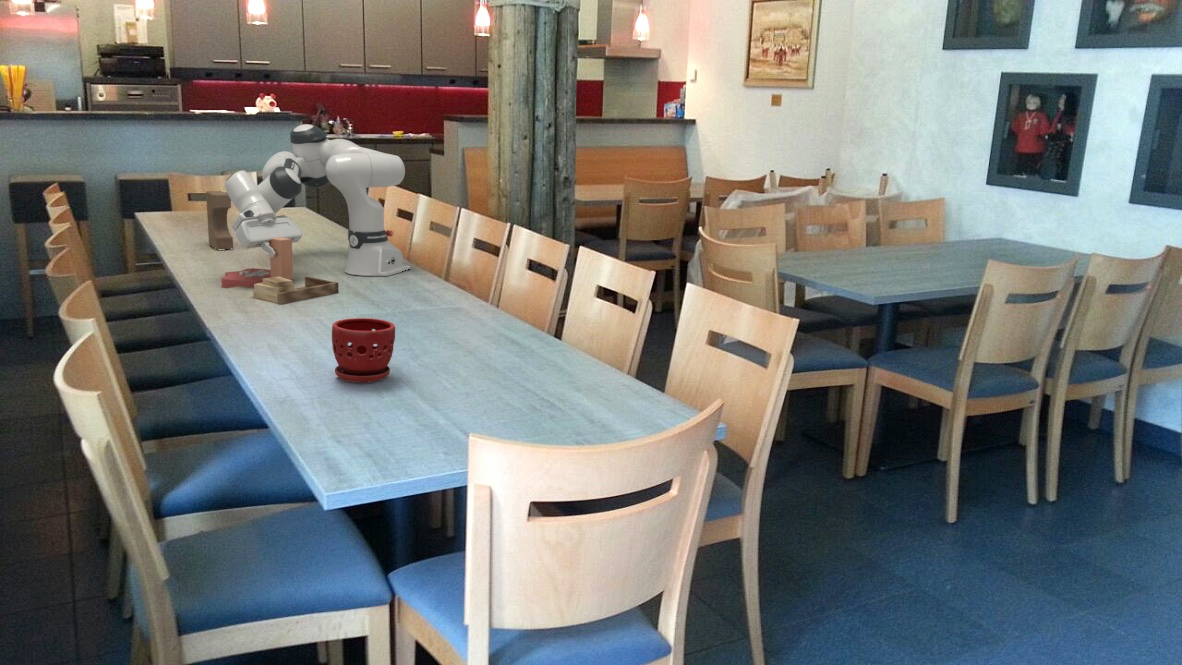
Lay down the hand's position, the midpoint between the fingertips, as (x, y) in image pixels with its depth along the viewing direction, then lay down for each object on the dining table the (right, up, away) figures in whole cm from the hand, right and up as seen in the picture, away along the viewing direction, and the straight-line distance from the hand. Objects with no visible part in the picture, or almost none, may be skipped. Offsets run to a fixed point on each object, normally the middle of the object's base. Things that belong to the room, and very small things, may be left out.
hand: (282, 254), depth 277 cm
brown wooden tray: (+6, -13, -7) cm, 16 cm away
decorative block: (-43, +8, +64) cm, 77 cm away
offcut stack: (+3, -13, -13) cm, 19 cm away
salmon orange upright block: (-1, -7, +2) cm, 7 cm away
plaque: (-13, -9, +9) cm, 19 cm away
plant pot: (+42, -33, -75) cm, 92 cm away
